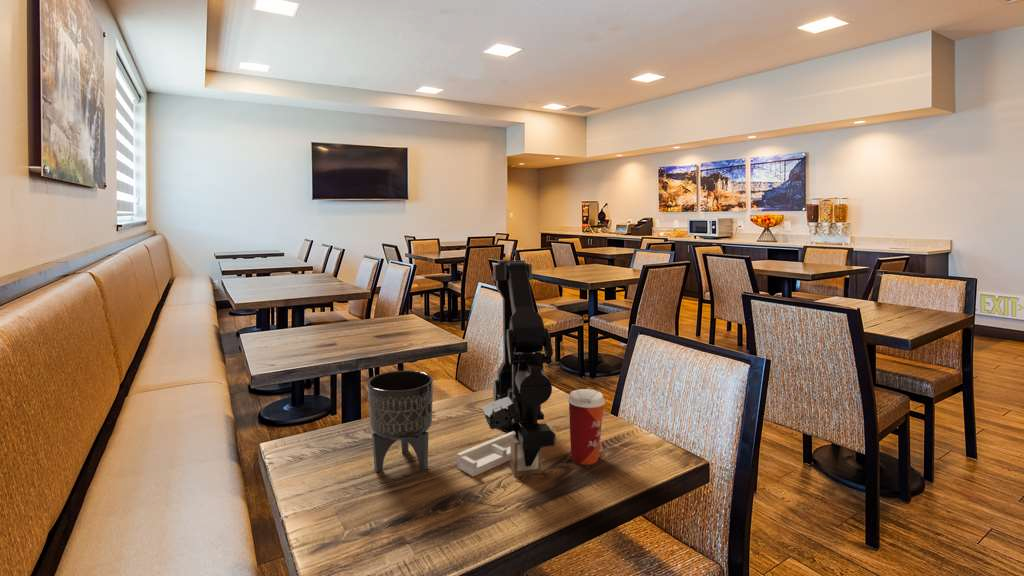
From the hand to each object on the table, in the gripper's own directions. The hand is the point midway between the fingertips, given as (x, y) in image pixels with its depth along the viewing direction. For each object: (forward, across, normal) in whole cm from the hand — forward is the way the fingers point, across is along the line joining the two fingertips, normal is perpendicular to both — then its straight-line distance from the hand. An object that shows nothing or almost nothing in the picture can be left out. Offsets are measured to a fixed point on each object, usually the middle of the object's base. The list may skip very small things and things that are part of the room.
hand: (525, 461), depth 107 cm
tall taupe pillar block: (+2, 0, 0) cm, 2 cm away
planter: (+2, -9, -24) cm, 25 cm away
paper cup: (+2, -2, +14) cm, 14 cm away
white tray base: (+2, -7, -4) cm, 8 cm away
